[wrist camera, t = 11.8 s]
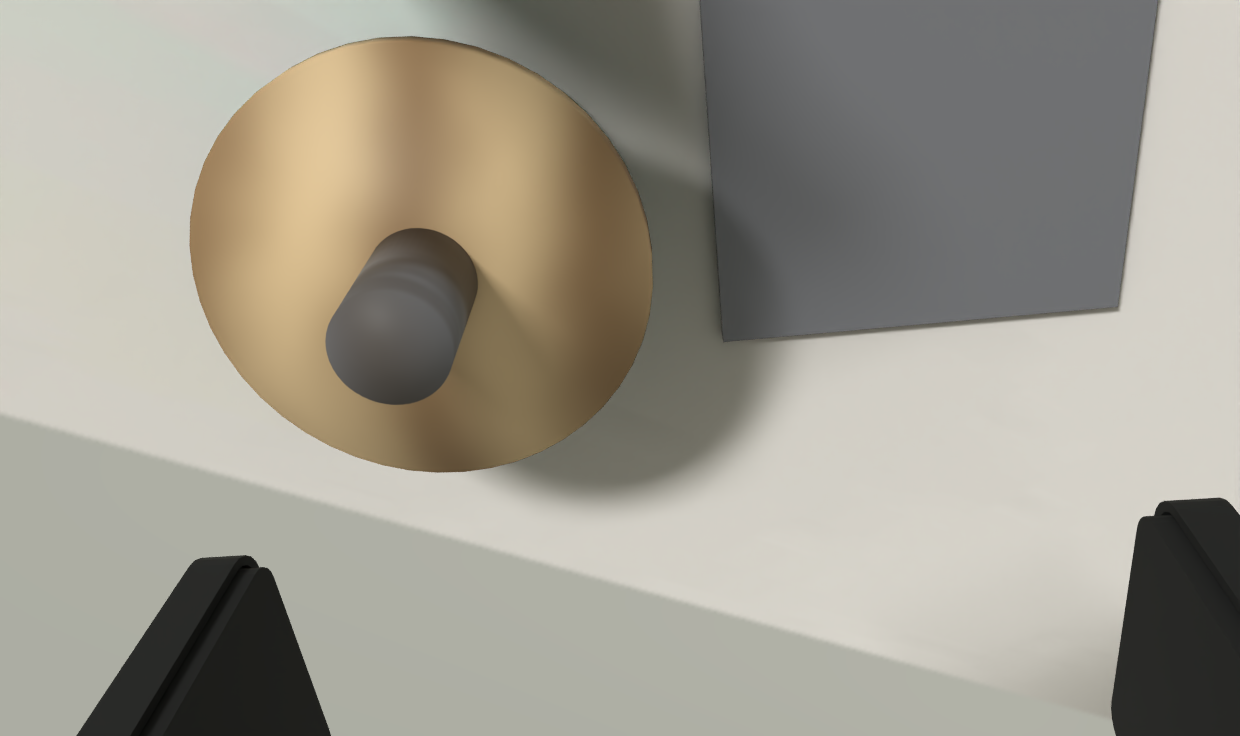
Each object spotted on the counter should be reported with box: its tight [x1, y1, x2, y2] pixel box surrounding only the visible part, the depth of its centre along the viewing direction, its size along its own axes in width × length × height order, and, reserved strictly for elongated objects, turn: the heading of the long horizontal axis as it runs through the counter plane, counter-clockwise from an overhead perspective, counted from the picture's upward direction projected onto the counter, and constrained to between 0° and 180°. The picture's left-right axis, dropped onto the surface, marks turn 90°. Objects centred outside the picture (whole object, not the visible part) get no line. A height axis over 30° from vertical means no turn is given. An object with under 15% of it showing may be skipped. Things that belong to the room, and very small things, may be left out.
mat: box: [700, 0, 1158, 342], centre depth 38 cm, size 16×16×1 cm
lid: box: [190, 36, 653, 472], centre depth 31 cm, size 15×15×6 cm
